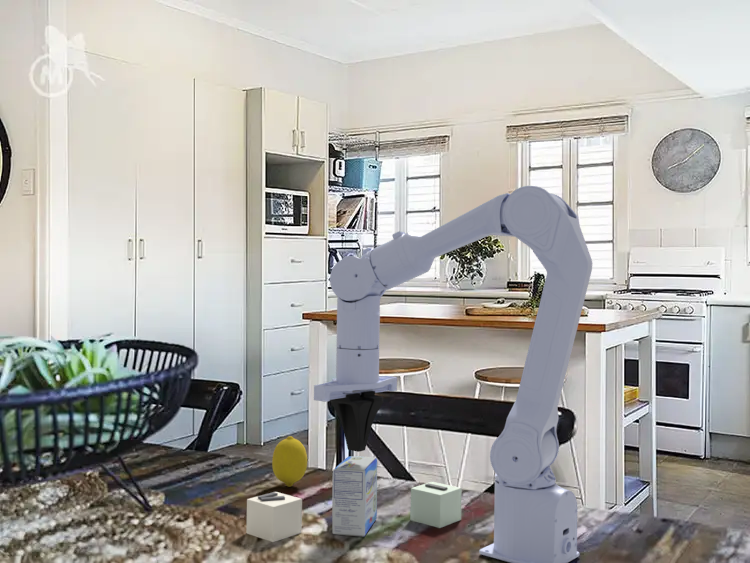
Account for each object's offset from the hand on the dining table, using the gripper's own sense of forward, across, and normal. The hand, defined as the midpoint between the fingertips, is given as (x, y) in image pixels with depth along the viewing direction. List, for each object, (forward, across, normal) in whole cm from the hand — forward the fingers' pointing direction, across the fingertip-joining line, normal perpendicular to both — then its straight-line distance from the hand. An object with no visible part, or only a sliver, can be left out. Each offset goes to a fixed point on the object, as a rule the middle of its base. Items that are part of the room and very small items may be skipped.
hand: (356, 449), depth 105 cm
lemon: (+10, -8, -21) cm, 25 cm away
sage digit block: (+10, -10, +6) cm, 16 cm away
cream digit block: (+10, +9, -6) cm, 15 cm away
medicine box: (+10, 0, 0) cm, 10 cm away
